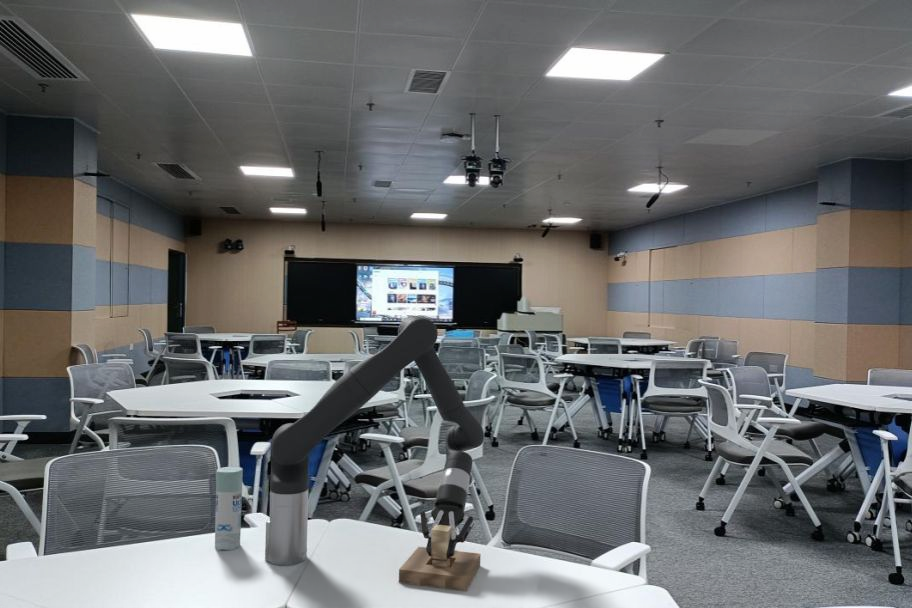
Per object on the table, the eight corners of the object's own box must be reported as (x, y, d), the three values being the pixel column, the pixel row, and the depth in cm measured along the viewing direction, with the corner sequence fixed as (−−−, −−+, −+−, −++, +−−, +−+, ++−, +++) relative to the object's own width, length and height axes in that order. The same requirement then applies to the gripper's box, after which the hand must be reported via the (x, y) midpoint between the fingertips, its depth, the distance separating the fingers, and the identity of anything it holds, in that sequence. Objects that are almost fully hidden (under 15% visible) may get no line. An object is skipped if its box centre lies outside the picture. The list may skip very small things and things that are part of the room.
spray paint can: (235, 551, 165) (237, 472, 165) (210, 550, 165) (212, 472, 165) (244, 542, 171) (246, 466, 171) (219, 541, 171) (221, 466, 171)
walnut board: (398, 582, 148) (399, 569, 148) (418, 558, 163) (418, 546, 163) (466, 591, 144) (466, 577, 144) (480, 565, 159) (480, 553, 159)
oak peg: (430, 572, 152) (431, 529, 152) (435, 565, 156) (436, 524, 156) (446, 574, 151) (447, 531, 151) (451, 567, 155) (452, 526, 155)
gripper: (423, 480, 163) (407, 545, 151) (478, 485, 159) (466, 552, 147) (429, 495, 168) (413, 559, 156) (482, 500, 164) (470, 566, 152)
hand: (439, 555), depth 151 cm, fingers closed on oak peg, 4 cm apart
